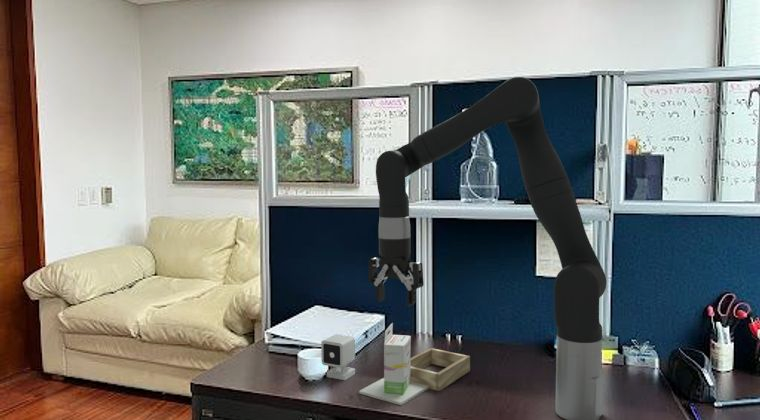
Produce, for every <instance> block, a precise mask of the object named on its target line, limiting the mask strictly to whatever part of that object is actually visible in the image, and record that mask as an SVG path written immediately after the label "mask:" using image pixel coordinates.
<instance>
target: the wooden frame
mask: <svg viewBox="0 0 760 420" xmlns="http://www.w3.org/2000/svg"><path fill="white" fill-rule="evenodd" d="M431 365H436V366H439V367H445V368H443V369H441V370H440V371H438V372H436V371H432V370H428V369H425V368H426V367H429V366H431ZM410 366H411V377H410V379H411V380H410V381H412V382H415V383H419V384H423V385H427V386H429V388H428V389H431V390H433V391H438V392H440V391H442V390H443V389H445V388H447V387H448V386H450V384H451V385H452V383H454V382H456V381H457V380H458V379H460V378H461V377H463V376H465V375H466V374H468V373H469V372H470V371H471V355H468V354H467V355H466V354H463V353H457V352H451V351H448V350H442V349H437V348H433V347H428V349H425V350H423V351H422V352H419V353H418V354H416V355H414V356H411V357H410Z"/></svg>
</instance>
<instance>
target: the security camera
mask: <svg viewBox="0 0 760 420" xmlns="http://www.w3.org/2000/svg"><path fill="white" fill-rule="evenodd" d="M320 345H321V346H320V347H321V349H320V350H321V364H322V365H323V366H327V367H328V366H329V367H333V368H331V369H328V371H326V378H330V379H335V380H341V381H346V380H348V379H350V378H351V377H353V376H354V375H355V374H356V368H354V367H349V366H348V364H351V363H352V362H354V361H355V359H356V339H355V337H354V336H350V335H342V334H338V333H335V334H333V335H331V336H329V337H327V338H325V339H323V340H322V341H321V343H320Z"/></svg>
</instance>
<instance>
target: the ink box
mask: <svg viewBox="0 0 760 420" xmlns="http://www.w3.org/2000/svg"><path fill="white" fill-rule="evenodd" d="M393 326H394V323H393V322H391V323H390V325H389V326H388V327H387V328H386V329H385V331H384V342H383V378H384V392H385V393H395V394H404V392H405V390H406V389H407V387H408V385H409V383H410V380H411V379H410V377H411V366H410V358H411V346H412V345H411V342H412V340H411V339H412V338H411V337H412V336H411V335H404V334H403V335H402V334H393V329H394V327H393Z"/></svg>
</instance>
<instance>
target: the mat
mask: <svg viewBox="0 0 760 420" xmlns="http://www.w3.org/2000/svg"><path fill="white" fill-rule="evenodd" d="M428 389H430V388H429V386H427V385H423V384H419V383H415V382H412V381H410V383H409V385H408V387H407V389H406V390H405V392H404V394H395V393H385V392H384V377H383V378H380V379H378V380H376V381H375V382H373V383H371V384H369V385H367V386H366V387H364V388H362V389H360V390H358V393H359V394H360V395H364V396H366V397H367V396H368V397H370V398H374V399H378V400H381V401H384V402H389V403H391V404H395V405H399V406H402V405H405V404H406V403H407V402H409V401H411V400H412V399H414V398H416V397H417V396H419V395H420V394H422V393H423V392H425V391H427V390H428Z"/></svg>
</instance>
